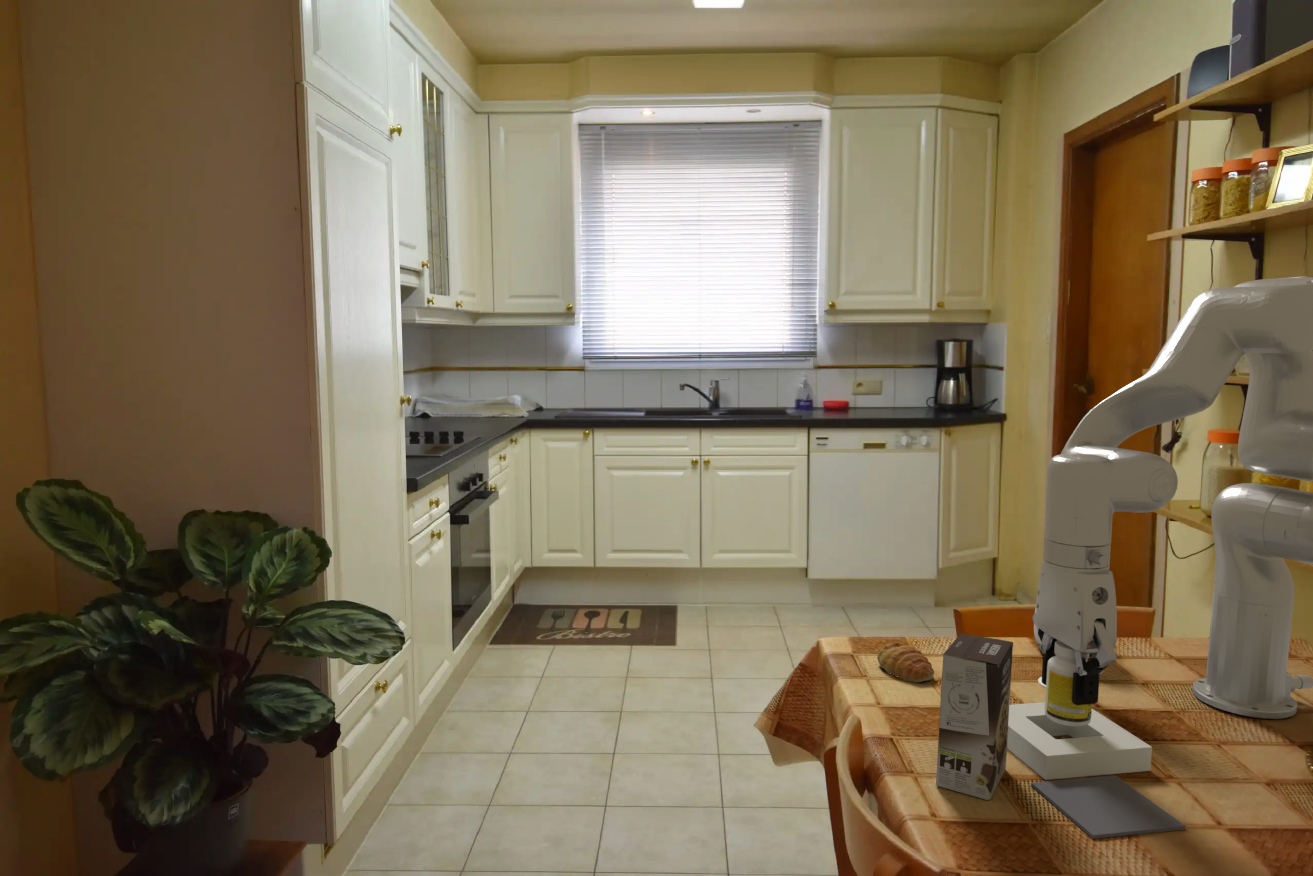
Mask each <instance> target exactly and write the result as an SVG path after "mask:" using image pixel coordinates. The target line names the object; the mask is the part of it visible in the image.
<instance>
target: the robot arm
mask: <svg viewBox="0 0 1313 876" xmlns="http://www.w3.org/2000/svg"><path fill="white" fill-rule="evenodd" d="M1243 356H1245V358H1246V360H1247V364H1248V369H1249V370H1248V372H1249V377H1248V378H1249V380H1248V387H1247V393H1246V399H1245V404H1244V409H1243V413H1242V420H1241V424H1240V429H1239V430H1240V431H1239V435H1238V443H1237V456H1238V460H1239V462H1240V464H1241V465H1242V466H1243V467H1244V468H1246V469H1248V470H1249V471H1252V472H1254V473H1258V474H1263V475H1267V476H1270V477H1271V476H1273V477H1279V478H1286V479H1293V480H1299V481H1304V482H1313V276H1309V277H1282V278H1281V277H1279V278H1264V279H1254V280H1249V281H1245V282H1241V283H1239V284H1236V285H1234V286H1232V287H1231V286H1228V287H1218V288H1212V289H1209V290H1206V291H1204V292H1202V293H1200V294H1199V295H1197V296H1196V297H1194V299H1193V300H1191V302H1190V303H1189V305H1188V307H1187V308H1186V309H1185V311H1184V312H1183V314H1182V316H1181V317H1180V319H1179V321H1178V323H1177V324H1176V325H1175V327H1174V328H1173V330H1172V331H1171V333H1170V335H1169V336H1168V338H1167V340H1166V341H1165V343H1164V344H1163V346H1162V347H1161V350H1160V351H1159V352H1158V354H1157V355H1156V357H1155V358H1154V361H1153V362H1152V364H1151V365H1150V367H1149V369H1148V370H1147V372H1145V373H1144V375H1142V376H1140V377H1139V378H1137V379H1136V380H1134V381H1132V382H1130V383H1128V384H1127V385H1125V386H1123V387H1121V388H1120V389H1118V390H1116V392H1114V393H1112V394H1110V396H1107V397H1106V398H1105V399H1103V400H1102V401H1101V402H1099V403H1098V404H1097V405H1095V406H1093V408H1091V409H1090V410H1089V411H1087V413H1086V414H1085V415H1084V416H1083V418H1082V419H1081V420H1080V422H1078V425H1077V426H1076V427H1075V429H1074V430H1073V432H1072V433H1071V435H1070V437H1069V438H1068V440H1067V441H1066V443H1065V445H1064V447H1063V449H1062V450H1061V453H1060V454H1057V455H1054V456H1052V458H1050V460H1049V461H1048V464H1047V470H1046V486H1045V487H1046V490H1045V506H1044V507H1045V509H1044V510H1045V511H1044V531H1043V532H1044V533H1043V534H1044V535H1043V550H1042V551H1043V553H1042V564H1041V567H1040V572H1039V573H1040V574H1039V579H1038V587H1037V594H1036V595H1037V596H1036V605H1035V608H1036V613H1035V612H1034V614H1033V615H1032V621H1033V624H1034V623H1035V626H1036V628H1037V630H1038V635H1039V638H1040V640H1041V646H1039V648H1040V651H1041V653H1042V663H1041V664H1042V668H1041V677H1042V683H1043V684H1045V685H1046V679H1047V665H1048V661H1049V659H1050V658H1051V657H1053V656H1056V655H1055V653H1054V648H1055V642H1056V641H1057V640H1058V641H1060V642H1062V643H1064V644H1066V645H1067V646H1069V647H1071V648H1073V649H1074V653H1075V659H1076V666H1077V673H1073V689H1072V703H1074V704H1075V705H1086V704H1092V705H1095V704H1097V703H1098V701H1099V693H1100V692H1099V691H1100V690H1099V689H1100V676H1101V675H1102V674H1103V673H1104V670H1105V669H1107V667H1108V666H1110V665H1112V664H1113V663H1114V662H1116V661H1117V654H1116V652H1115V651H1116V650H1115V647H1116V644H1117V633H1118V632H1117V629H1118V627H1117V626H1118V625H1117V623H1118V622H1117V621H1118V619H1117V618H1118V615H1117V612H1118V611H1117V596H1116V595H1117V594H1116V586H1115V585H1116V583H1115V578H1114V574H1113V571H1111V570H1110V565H1111V564H1110V561H1111V545H1112V531H1113V515H1114V513H1115V512H1121V513H1122V512H1125V513H1126V512H1127V513H1139V514H1140V513H1151V512H1156V511H1157V510H1159V509H1162V508H1164V507H1165V506H1166V505H1168V504H1169V503H1170V502H1171V500H1172V499H1173V498H1174V496H1175V495H1176V492H1177V489H1178V484H1179V479H1178V475H1177V472H1176V469H1175V468H1174V467H1173V465H1172V464H1171V463H1170V462H1169V461H1168V460H1167V459H1165V458H1163V457H1161V456H1159V455H1158V454H1155V453H1151V452H1145V451H1139V450H1134V449H1133V450H1132V449H1127V448H1123V447H1122V448H1121V447H1119V446H1120V445H1121V444H1123V442H1124V441H1126V440H1127V439H1129V438H1130V437H1131V436H1133V435H1135V434H1137V433H1139V432H1141V431H1143V430H1145V429H1148V428H1152V427H1154V426H1157V425H1162V424H1164V423H1165V424H1166V423H1169V422H1173V421H1177V420H1179V419H1184V418H1187V417H1190V416H1193V415H1196V414H1198V413H1202V412H1204V411H1205V410H1207V409H1208V408H1210V407H1211V406H1212V405H1213V404H1214V402H1215V401H1216V399H1217V397H1219V394H1220V392H1221V390H1222V389H1223V388H1224V386H1225V384H1226V382H1227V381H1228V378H1230V375H1232V372H1233V371H1234V369H1235V367H1236V365H1237V364H1238V363H1239V362H1240V360H1241V358H1242V357H1243ZM1210 518H1211V529H1212V534H1213V542H1214V553H1215V555H1214V556H1215V557H1214V559H1215V560H1214V561H1215V562H1214V563H1215V566H1214V581H1213V582H1214V583H1213V591H1212V592H1213V593H1212V603H1211V605H1212V606H1211V615H1210V629H1209V640H1208V650H1207V651H1208V652H1207V661H1206V662H1207V663H1206V674H1205V677H1201V678H1198V679H1196V680H1194V681H1193V683H1192V690H1191V691H1192V694H1193V695H1194V696H1195V698H1197V699H1198V700H1200V701H1201V702H1202V703H1205V704H1207V705H1209V706H1211V707H1214V708H1215V709H1218V710H1220V711H1221V710H1222V711H1224V712H1228V713H1230V714H1231V713H1232V714H1235V715H1240V716H1244V717H1250V718H1258V719H1265V720H1266V719H1267V720H1269V719H1270V720H1275V719H1276V720H1279V719H1286V718H1290V717H1293V716H1294V715H1296V714H1297V711H1298V702H1297V701H1296V699H1294V698H1293V697H1292V696H1291V693H1292V692H1294V691H1295V690H1296V689H1297V690H1308V689H1309V690H1310V689H1312V688H1313V678H1312V677H1311V676H1310V675H1308V674H1299V675H1291V674H1289V673H1288V672H1287V671H1288V663H1289V652H1290V645H1291V644H1290V642H1291V633H1292V630H1291V629H1292V623H1293V622H1292V621H1293V614H1294V613H1293V612H1294V603H1295V596H1296V595H1295V591H1296V589H1295V582H1294V580H1293V576H1292V574H1291V573H1292V572H1291V571H1290V569H1289V567H1288V564H1287V563H1286V561H1285V559H1286V560H1291V561H1293V562H1294V561H1295V562H1299V563H1304V564H1307V565H1313V492H1312V491H1308V490H1307V491H1306V490H1299V489H1294V488H1290V487H1284V486H1277V485H1270V484H1265V483H1264V484H1263V483H1255V482H1254V483H1253V482H1247V483H1246V482H1244V483H1243V482H1242V483H1236V484H1232V485H1230V486H1227V487H1225V488H1224V489H1223V490H1222V491H1220V493H1218V494H1217V496H1216V497H1215V499H1214V501H1213V503H1212V508H1211V517H1210ZM1088 643H1091V647H1089V648H1087V646H1088ZM1086 653H1091V657H1090V659H1089V660H1088V659H1087V662H1086V660H1085V654H1086Z"/></svg>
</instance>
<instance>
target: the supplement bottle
mask: <svg viewBox="0 0 1313 876" xmlns="http://www.w3.org/2000/svg"><path fill="white" fill-rule="evenodd" d="M1087 648H1089V645H1088V646H1087ZM1054 653H1055V655H1056V656H1053V657H1051V658H1050V659H1049V661H1048V665H1047V679H1046V687H1045V696H1044V697H1045V699H1044V702H1045V715H1046V717H1047V718H1049V719H1050V720H1052V721H1054V722H1056V723H1058V724H1061V725H1066V726H1085V725H1087V724H1089V723H1090V721H1091V713H1092V709H1093V708H1092V707H1093V704H1086V705H1075V704H1074V703H1072V689H1073V673H1077V666H1076V659H1075V653H1074V649H1073V648H1071V647H1069V646H1067V645H1066V644H1064V643H1062V642H1060V641H1058V640H1057V641H1056V642H1055V648H1054ZM1088 659H1089V653H1086V654H1085V660H1086V662H1087V661H1088Z"/></svg>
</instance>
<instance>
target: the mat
mask: <svg viewBox="0 0 1313 876" xmlns="http://www.w3.org/2000/svg"><path fill="white" fill-rule="evenodd" d="M1030 786H1031V787H1032V788H1033V789H1034V790H1036V792H1037V793H1038V794H1040V795H1041V796H1042V797H1043V798H1044V799H1046V800H1047V801H1048V802H1049V803H1051V804H1052V805H1053V806H1054V807H1055V808H1056V809H1058V810H1059V811H1060V812H1061V813H1062V814H1063V815H1064V816H1066V817H1067V819H1069V820H1070V821H1071V822H1072V823H1073V824H1075V825H1076V827H1077V826H1078V828H1080V830H1082V831H1083V832H1084V833H1085V834H1086V835H1087V836H1089V837H1090V838H1091V839H1094V840H1095V839H1105V838H1113V837H1124V836H1133V835H1134V836H1135V835H1141V834H1143V835H1145V834H1153V833H1154V834H1155V833H1163V832H1171V831H1183V830H1186V825H1185V824H1184V823H1183V822H1181V821H1180V820H1178V819H1177V818H1176V817H1174V816H1173V815H1171V814H1170V813H1169V812H1167V811H1166V810H1164V809H1163V808H1161V807H1160V806H1159V805H1157V804H1156V803H1155V802H1153V801H1152V800H1151V799H1149V798H1148V797H1147V796H1145V795H1144V794H1142V793H1141V792H1139V791H1138V790H1137V789H1135V788H1134V787H1132V786H1131V785H1130V784H1129V783H1127V782H1126V781H1124V780H1123V779H1121V778H1120V777H1119V776H1117V775H1116V774H1112V775H1100V776H1089V777H1078V778H1071V779H1070V778H1067V779H1055V780H1044V781H1036V782H1031V784H1030Z"/></svg>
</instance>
